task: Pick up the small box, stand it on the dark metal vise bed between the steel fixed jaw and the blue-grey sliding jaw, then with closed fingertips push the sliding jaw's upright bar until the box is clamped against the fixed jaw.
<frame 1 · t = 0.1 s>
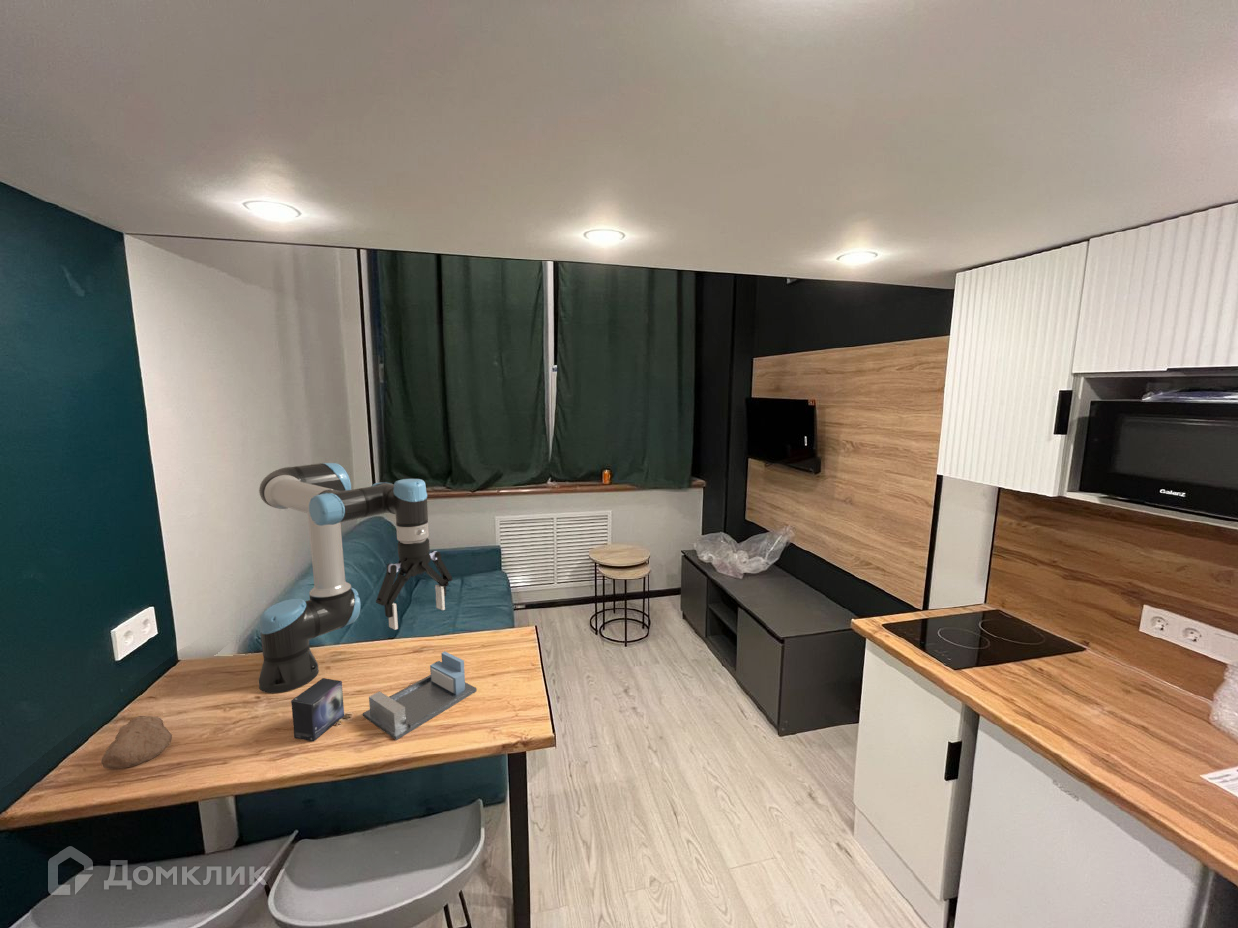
hand: (418, 617, 128), 28 cm above the table, fingers open, 13 cm apart
stone: (143, 754, 118), on the table
vise: (418, 705, 137), on the table
sliding jaw: (448, 671, 144), point 5 cm above the table, slide at 0.0 cm
small box: (320, 727, 128), on the table
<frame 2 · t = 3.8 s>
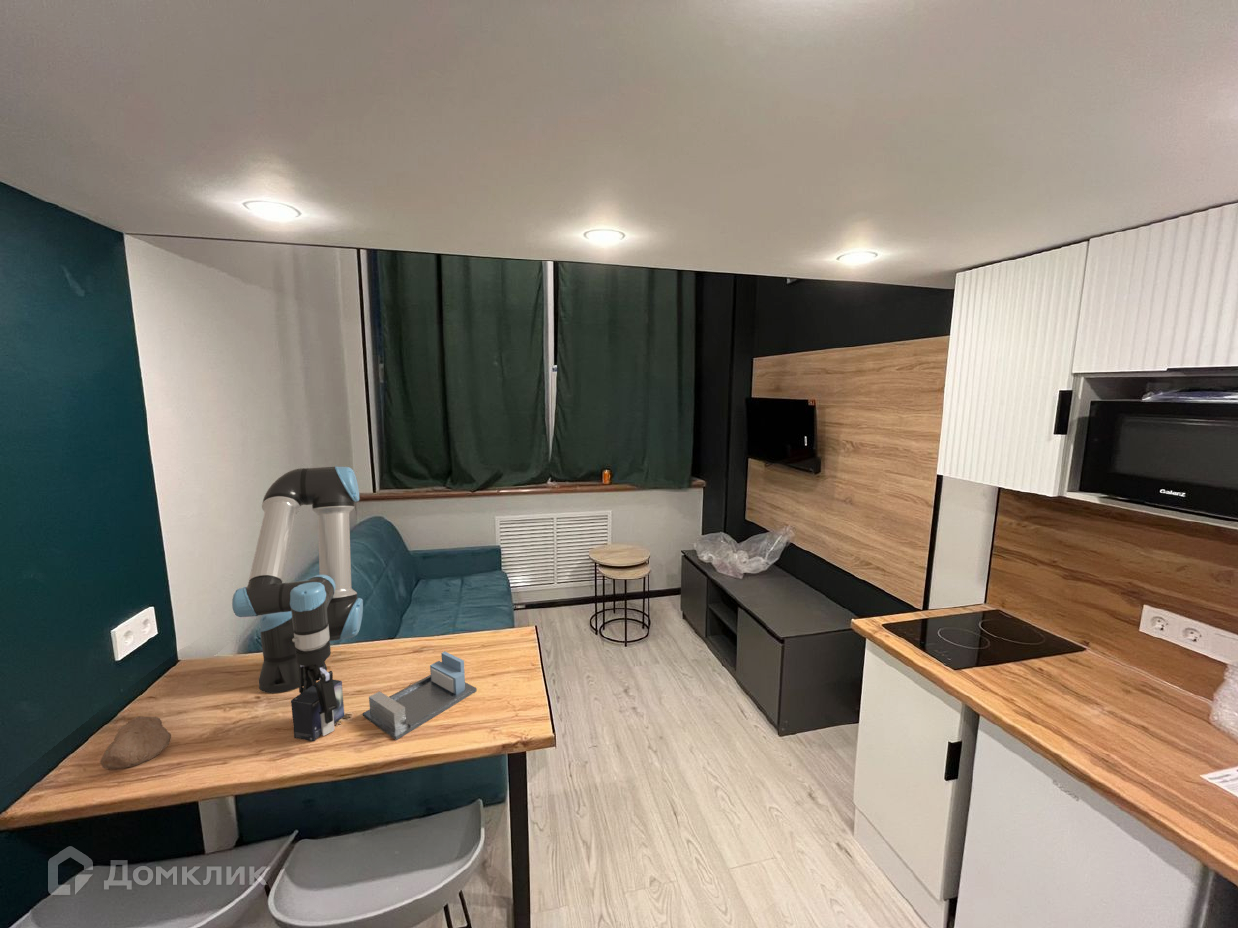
hand: (320, 725, 128), 0 cm above the table, fingers closed on small box, 8 cm apart
small box: (320, 727, 128), on the table, touching gripper
everything else where it was.
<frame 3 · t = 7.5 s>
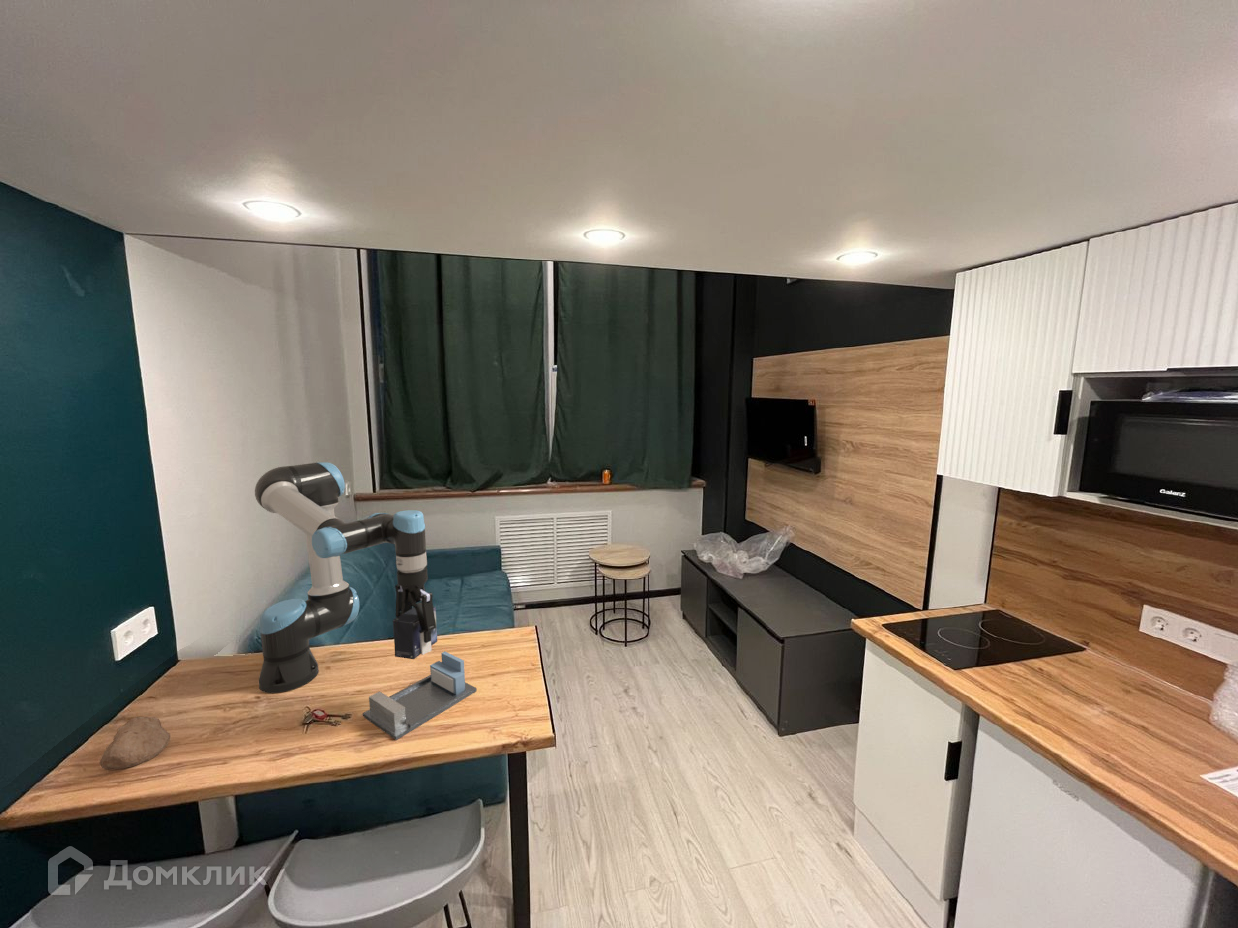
hand: (417, 647, 135), 17 cm above the table, fingers closed on small box, 8 cm apart
small box: (417, 649, 135), point 16 cm above the table, touching gripper
everything else where it was.
when the fingers open (3 cm above the table, at t = 10.3 s): small box drops 1 cm, resting on vise.
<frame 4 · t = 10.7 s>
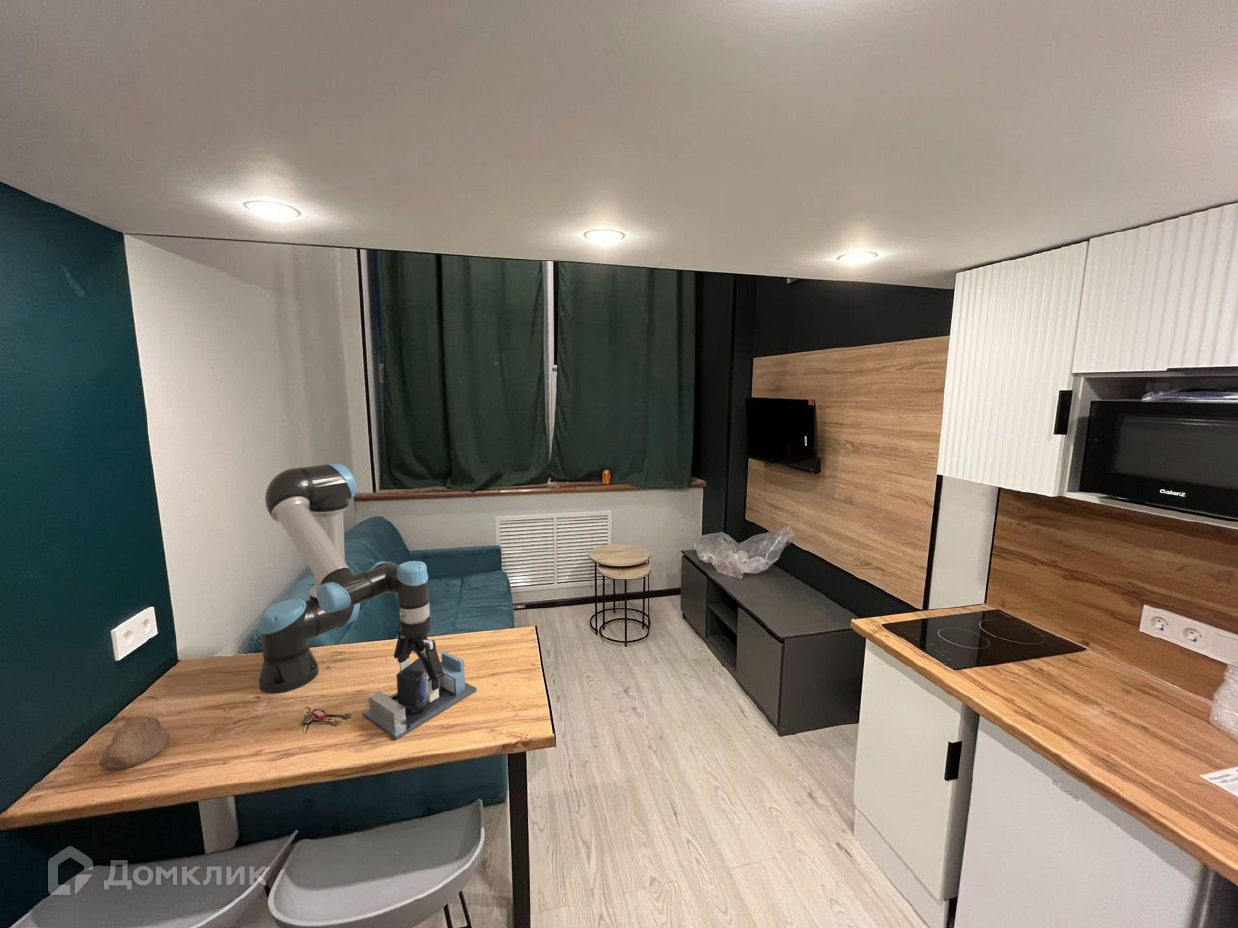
hand: (419, 690, 137), 4 cm above the table, fingers open, 12 cm apart
small box: (420, 701, 137), point 1 cm above the table, touching vise
everything else where it was.
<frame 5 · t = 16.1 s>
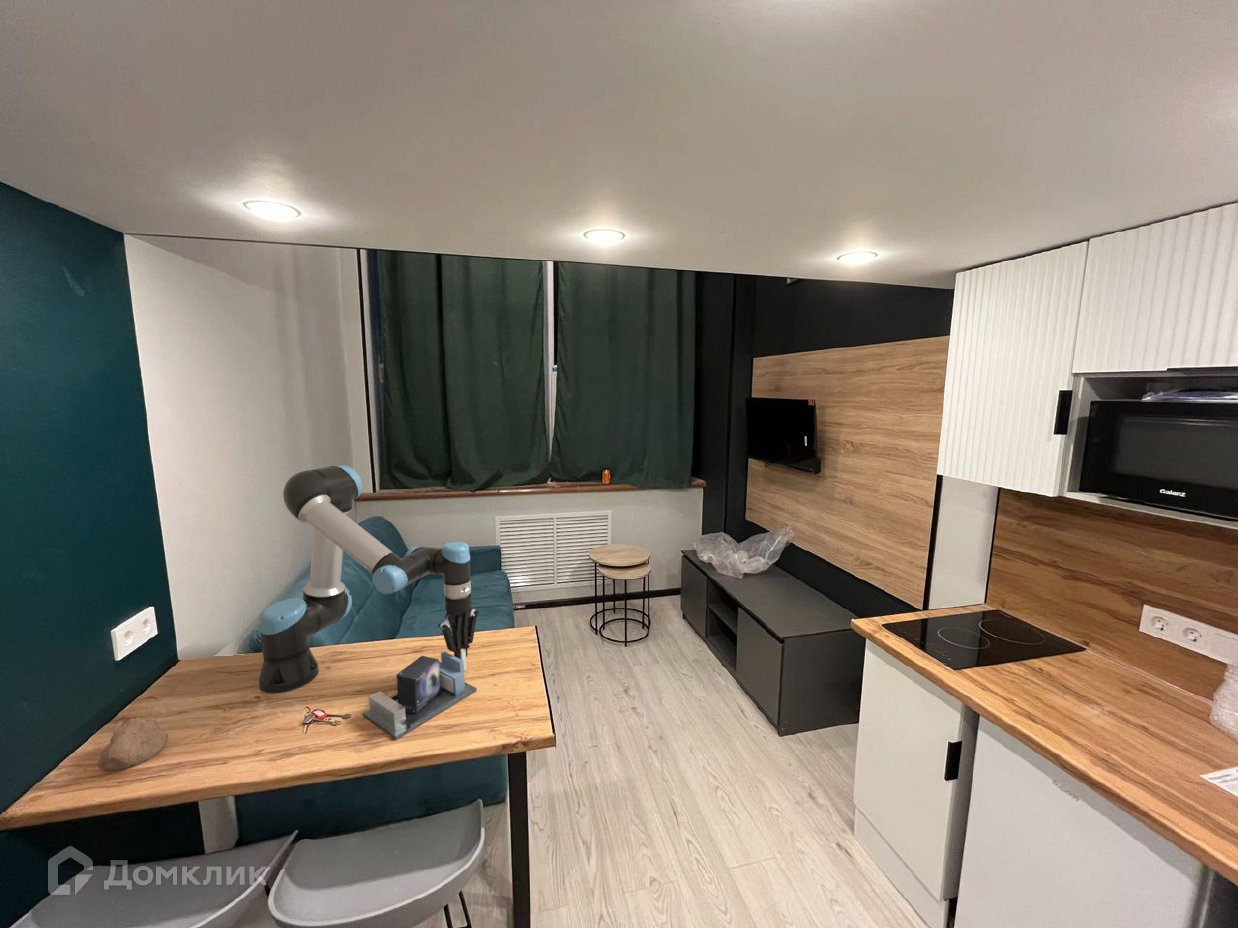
hand: (461, 668, 148), 4 cm above the table, fingers closed
sliding jaw: (447, 672, 144), point 5 cm above the table, slide at 0.1 cm, touching gripper
everything else where it was.
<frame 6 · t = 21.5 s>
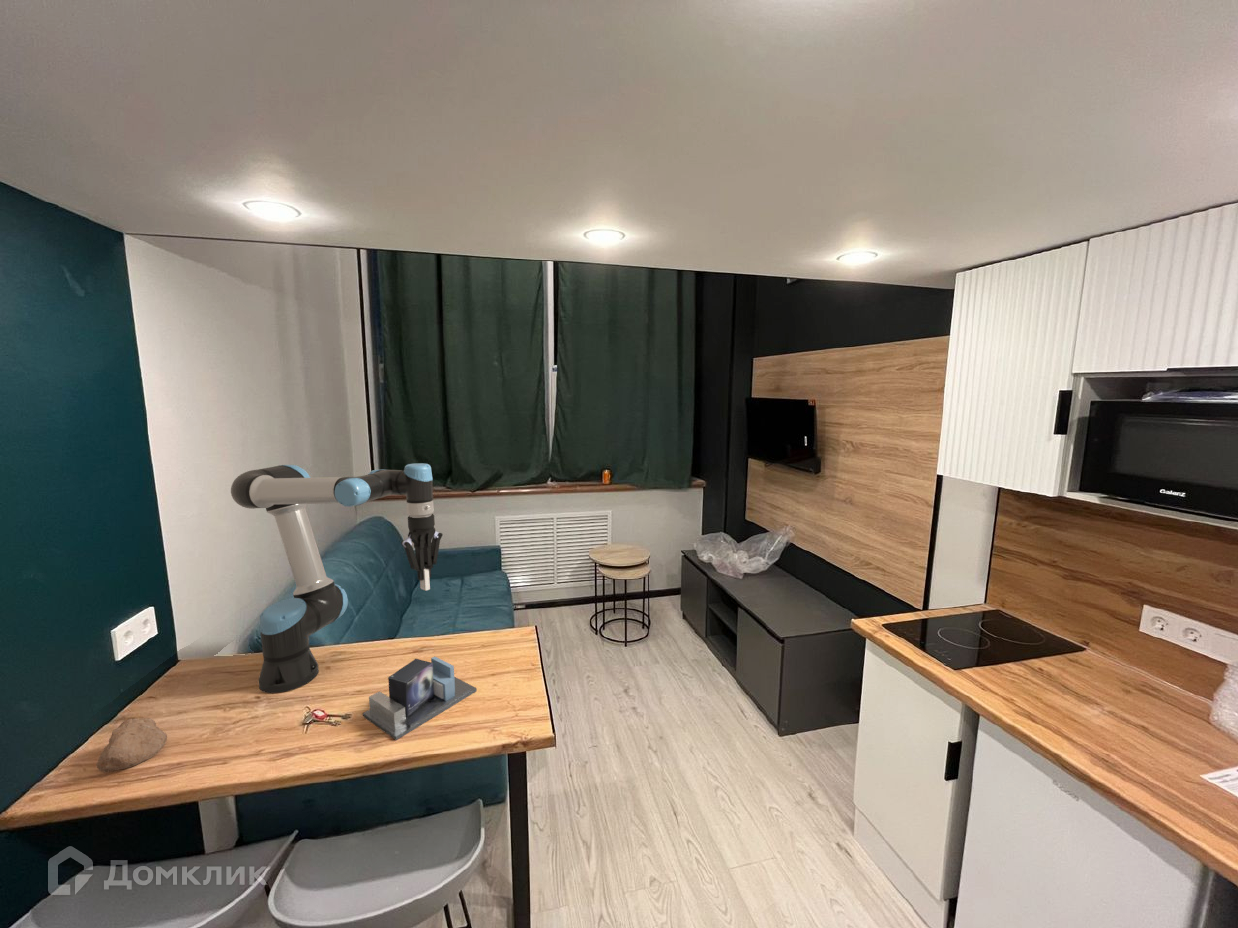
hand: (425, 588, 151), 26 cm above the table, fingers closed
sliding jaw: (437, 677, 141), point 5 cm above the table, slide at 3.5 cm
small box: (412, 705, 135), point 1 cm above the table, touching vise
at the end: small box inside the target area (0.2 cm from its centre), point 0.8 cm above the table; small box tilted 0°; sliding jaw slide at 3.5 cm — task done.
